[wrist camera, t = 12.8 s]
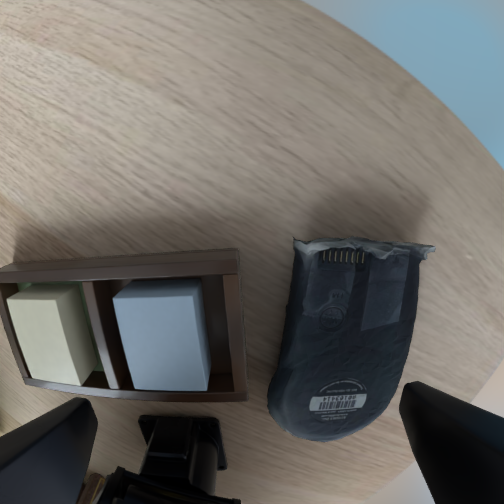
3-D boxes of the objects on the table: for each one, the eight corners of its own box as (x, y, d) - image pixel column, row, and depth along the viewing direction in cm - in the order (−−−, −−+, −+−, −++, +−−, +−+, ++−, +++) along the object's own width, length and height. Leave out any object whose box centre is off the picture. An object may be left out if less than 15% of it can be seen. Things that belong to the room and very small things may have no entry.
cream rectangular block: (98, 363, 20) (81, 386, 17) (51, 358, 20) (32, 378, 17) (78, 284, 18) (55, 299, 15) (30, 285, 18) (6, 298, 15)
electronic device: (271, 231, 20) (260, 432, 21) (297, 234, 15) (276, 480, 16) (394, 237, 21) (368, 417, 23) (444, 241, 16) (401, 452, 17)
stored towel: (211, 364, 20) (206, 391, 17) (147, 364, 20) (134, 389, 17) (200, 277, 18) (192, 295, 16) (130, 281, 18) (112, 297, 16)
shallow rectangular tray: (248, 376, 21) (248, 401, 18) (41, 367, 21) (25, 384, 18) (238, 247, 19) (237, 258, 16) (12, 262, 19) (-11, 272, 16)
